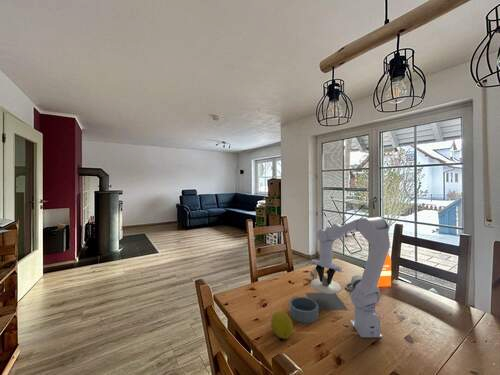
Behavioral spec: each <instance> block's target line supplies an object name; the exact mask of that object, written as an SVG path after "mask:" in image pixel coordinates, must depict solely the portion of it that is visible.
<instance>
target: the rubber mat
mask: <svg viewBox="0 0 500 375" xmlns="http://www.w3.org/2000/svg"><path fill="white" fill-rule="evenodd" d="M305 294H306V295H307V296H306V297H307V298H310V299H312V300H314V301H315V302H317V304H318V306H319V311H323V310H324V311H331V310H332V311H348V310H349V309H348V308H347V306H346V305H345V304H344V302H343V301H342V300H341V299H340V298H339V296H338V294H337V293H335V294H327V293H322V292H305Z"/></svg>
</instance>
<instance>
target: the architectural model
mask: <svg viewBox="0 0 500 375" xmlns="http://www.w3.org/2000/svg"><path fill="white" fill-rule="evenodd" d="M315 267H316V266H313V267H312V268H311V269H312V270H311V272H310V271H309V272H307V274H308V275H309V277H310V278H311V279H312V280H314V279H318V272H317V270H316V268H315Z"/></svg>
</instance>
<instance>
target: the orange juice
mask: <svg viewBox="0 0 500 375" xmlns="http://www.w3.org/2000/svg"><path fill="white" fill-rule="evenodd" d="M389 253H390V252H388V254H387V257H386V260H385V263H384V266H383V269H382V272H381V275H380V278H379V281H378V284H377V286H378V287H379V288H381V287H391V286H392V258H391V256H390V254H389Z"/></svg>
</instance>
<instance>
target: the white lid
mask: <svg viewBox="0 0 500 375" xmlns="http://www.w3.org/2000/svg"><path fill="white" fill-rule="evenodd" d="M310 287H311V288H312V289H313V290H315V291H316V292H318V293H327V294H335V293H336V294H338V293H340V292H341V290H342V287H341V285H340V284H339V283H338V282H337V281H334V280H332V281H331V284H330V285H328V277H327V275H324V276H322V282H320V278H319V277H318V278H317V279H314V280H313V279H312V280H311V281H310Z"/></svg>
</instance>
